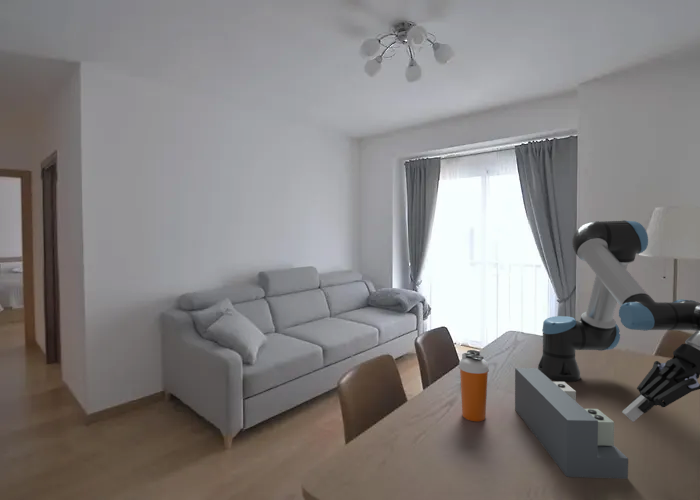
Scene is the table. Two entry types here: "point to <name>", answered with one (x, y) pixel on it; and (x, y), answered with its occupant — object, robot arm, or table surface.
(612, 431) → the key two
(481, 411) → the shaker bottle
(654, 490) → the table surface
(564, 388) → the key one
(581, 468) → the grey stepped stand
